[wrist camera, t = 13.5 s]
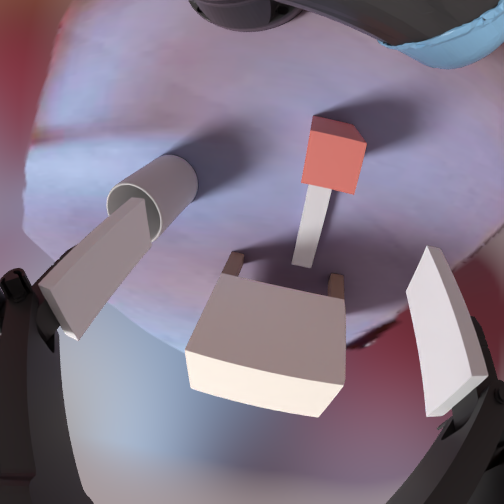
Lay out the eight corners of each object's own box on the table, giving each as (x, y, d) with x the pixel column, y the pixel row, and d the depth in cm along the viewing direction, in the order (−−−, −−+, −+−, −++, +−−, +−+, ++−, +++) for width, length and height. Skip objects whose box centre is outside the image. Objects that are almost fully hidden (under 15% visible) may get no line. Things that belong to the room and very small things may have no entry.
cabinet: (231, 251, 45) (184, 349, 30) (351, 277, 43) (354, 386, 27) (228, 296, 51) (190, 388, 36) (333, 318, 49) (326, 418, 33)
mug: (167, 142, 37) (121, 167, 28) (210, 181, 39) (176, 217, 30) (130, 195, 43) (89, 229, 35) (167, 229, 46) (133, 269, 37)
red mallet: (313, 115, 31) (310, 130, 22) (352, 124, 30) (367, 143, 22) (286, 257, 44) (274, 308, 35) (317, 264, 43) (313, 316, 34)
